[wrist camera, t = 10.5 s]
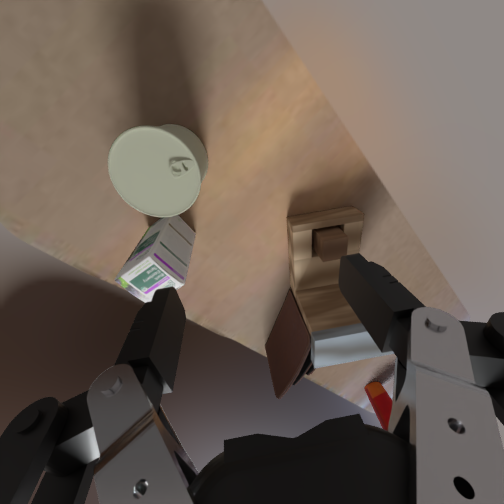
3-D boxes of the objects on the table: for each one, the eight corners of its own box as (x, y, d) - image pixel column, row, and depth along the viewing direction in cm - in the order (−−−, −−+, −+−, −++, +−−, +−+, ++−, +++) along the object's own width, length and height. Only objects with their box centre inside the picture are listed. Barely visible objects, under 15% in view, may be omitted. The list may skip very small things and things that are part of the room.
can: (217, 179, 35) (214, 203, 24) (164, 199, 35) (139, 230, 25) (191, 113, 30) (173, 109, 20) (129, 138, 31) (82, 146, 20)
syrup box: (173, 208, 36) (146, 253, 24) (197, 234, 39) (185, 286, 27) (148, 227, 37) (110, 280, 25) (173, 251, 40) (150, 308, 28)
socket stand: (281, 218, 39) (316, 277, 24) (357, 205, 39) (439, 255, 24) (286, 291, 48) (314, 368, 33) (348, 280, 48) (404, 351, 34)
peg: (308, 223, 40) (323, 241, 34) (330, 219, 40) (348, 236, 34) (309, 242, 42) (323, 262, 36) (329, 238, 42) (346, 257, 36)
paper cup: (375, 393, 77) (403, 443, 65) (357, 391, 75) (382, 443, 63) (388, 380, 73) (420, 431, 61) (370, 378, 71) (399, 430, 59)
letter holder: (264, 346, 57) (275, 405, 45) (289, 287, 48) (311, 343, 36) (299, 348, 59) (318, 406, 47) (329, 292, 50) (363, 347, 38)
